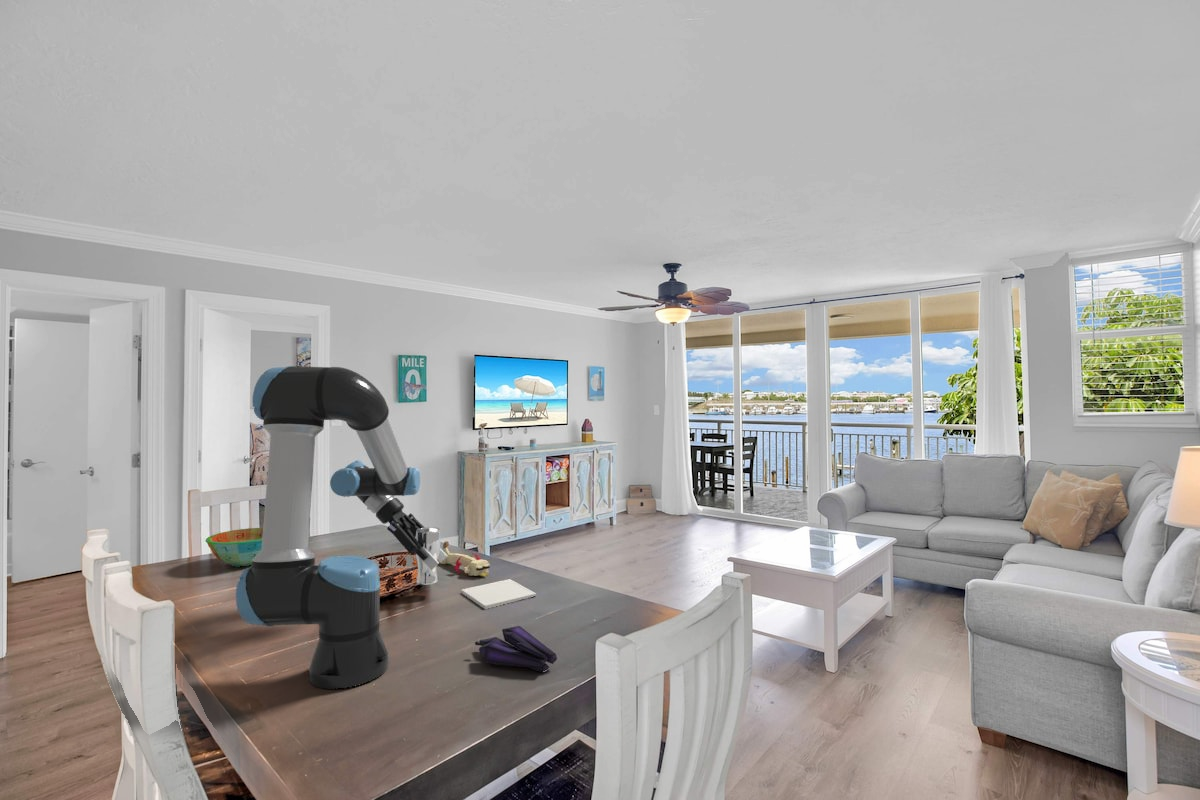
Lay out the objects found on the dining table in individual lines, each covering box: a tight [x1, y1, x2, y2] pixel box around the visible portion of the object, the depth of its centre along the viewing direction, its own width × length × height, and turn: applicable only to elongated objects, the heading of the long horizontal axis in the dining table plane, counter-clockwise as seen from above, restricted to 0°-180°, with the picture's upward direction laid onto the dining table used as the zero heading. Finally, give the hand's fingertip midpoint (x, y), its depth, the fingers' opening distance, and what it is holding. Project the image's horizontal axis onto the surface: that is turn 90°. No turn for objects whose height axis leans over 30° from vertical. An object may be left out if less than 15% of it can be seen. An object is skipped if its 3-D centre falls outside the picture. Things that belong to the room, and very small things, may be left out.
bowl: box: [205, 527, 263, 568], centre depth 195 cm, size 22×22×10 cm
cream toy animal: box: [438, 540, 491, 577], centre depth 189 cm, size 10×9×25 cm
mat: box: [460, 578, 537, 610], centre depth 165 cm, size 16×16×1 cm
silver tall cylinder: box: [415, 526, 441, 586], centre depth 164 cm, size 7×7×15 cm
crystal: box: [474, 625, 558, 673], centre depth 124 cm, size 7×12×20 cm
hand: (439, 562), depth 164 cm, fingers closed on silver tall cylinder, 7 cm apart
